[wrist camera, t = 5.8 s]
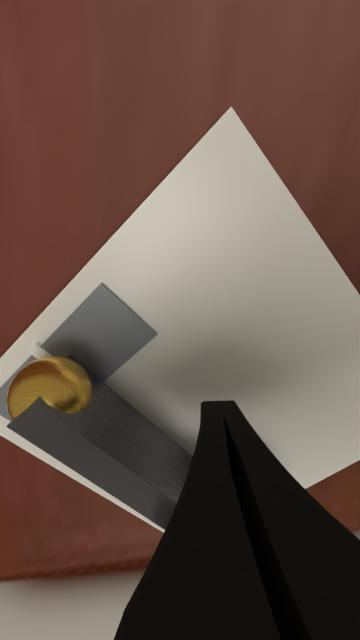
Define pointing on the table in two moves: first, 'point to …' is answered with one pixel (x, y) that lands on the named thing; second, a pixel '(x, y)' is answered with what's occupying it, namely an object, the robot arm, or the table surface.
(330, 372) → the stand
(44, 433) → the capstan
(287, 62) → the table surface
